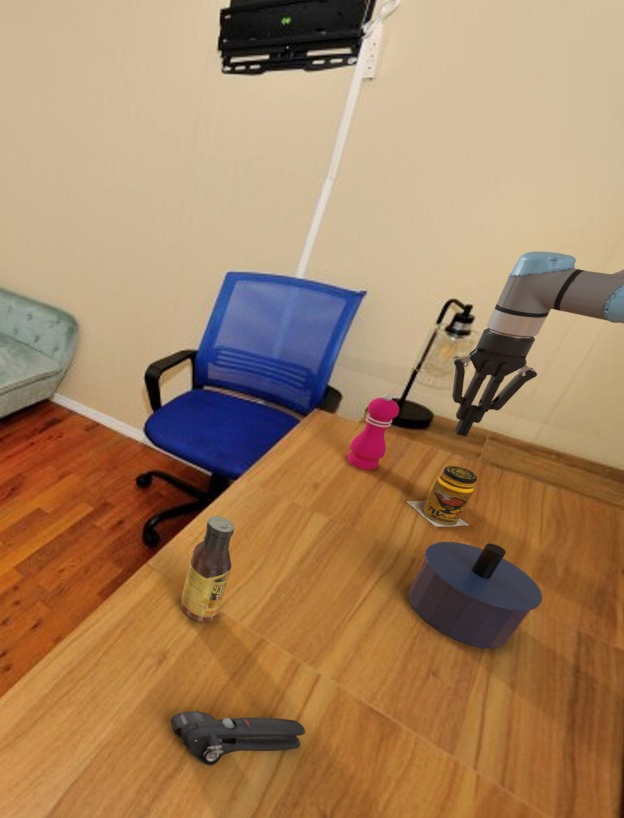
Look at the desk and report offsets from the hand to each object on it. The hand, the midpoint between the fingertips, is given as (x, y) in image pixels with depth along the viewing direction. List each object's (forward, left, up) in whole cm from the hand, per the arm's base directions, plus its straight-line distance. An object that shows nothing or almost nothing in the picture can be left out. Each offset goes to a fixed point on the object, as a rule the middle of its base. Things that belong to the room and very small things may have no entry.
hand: (460, 432), depth 111 cm
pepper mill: (+14, -4, -17) cm, 22 cm away
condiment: (-1, +9, -17) cm, 19 cm away
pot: (-4, +40, -16) cm, 43 cm away
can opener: (+20, +87, -17) cm, 90 cm away
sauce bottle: (+32, +67, -17) cm, 76 cm away
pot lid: (-4, +40, -7) cm, 41 cm away
